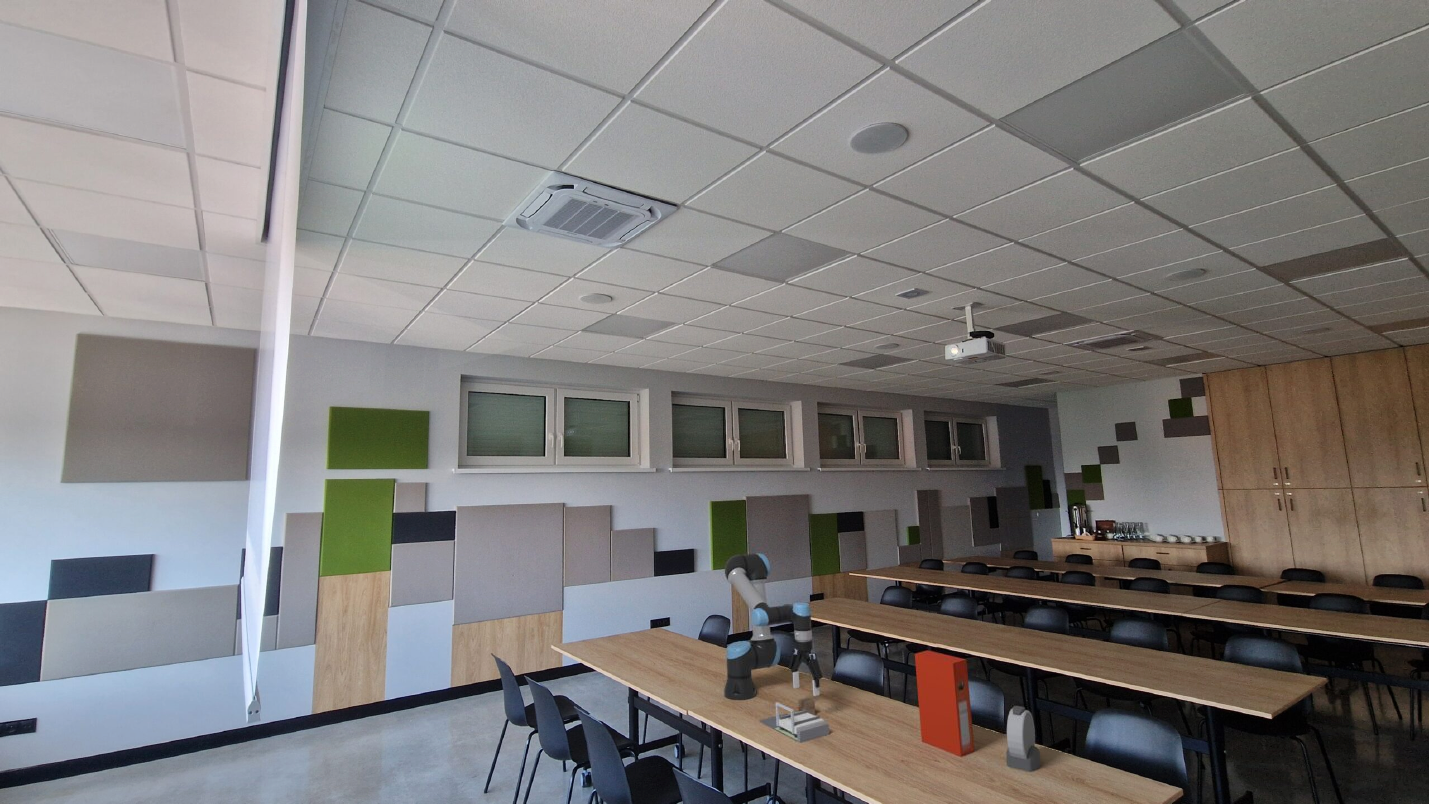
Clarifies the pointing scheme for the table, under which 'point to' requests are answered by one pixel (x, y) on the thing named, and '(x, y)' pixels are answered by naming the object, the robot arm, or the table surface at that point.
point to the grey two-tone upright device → (1021, 741)
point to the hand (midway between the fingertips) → (806, 691)
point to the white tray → (796, 720)
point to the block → (806, 705)
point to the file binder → (944, 702)
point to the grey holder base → (801, 734)
